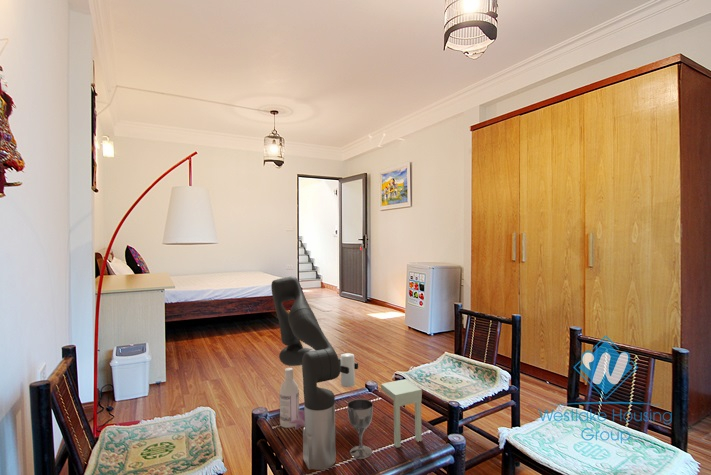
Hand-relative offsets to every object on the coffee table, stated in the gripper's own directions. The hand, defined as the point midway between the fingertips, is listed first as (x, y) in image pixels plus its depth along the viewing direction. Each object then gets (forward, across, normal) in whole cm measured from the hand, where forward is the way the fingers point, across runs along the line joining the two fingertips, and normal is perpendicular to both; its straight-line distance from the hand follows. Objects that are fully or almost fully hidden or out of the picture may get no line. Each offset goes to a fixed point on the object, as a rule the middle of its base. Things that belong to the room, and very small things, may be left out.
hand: (353, 368), depth 136 cm
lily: (-7, -18, +19) cm, 27 cm away
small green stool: (+21, -1, +19) cm, 28 cm away
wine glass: (+15, -16, +19) cm, 29 cm away
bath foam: (-17, -16, +19) cm, 30 cm away
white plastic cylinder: (-3, 0, +6) cm, 7 cm away
